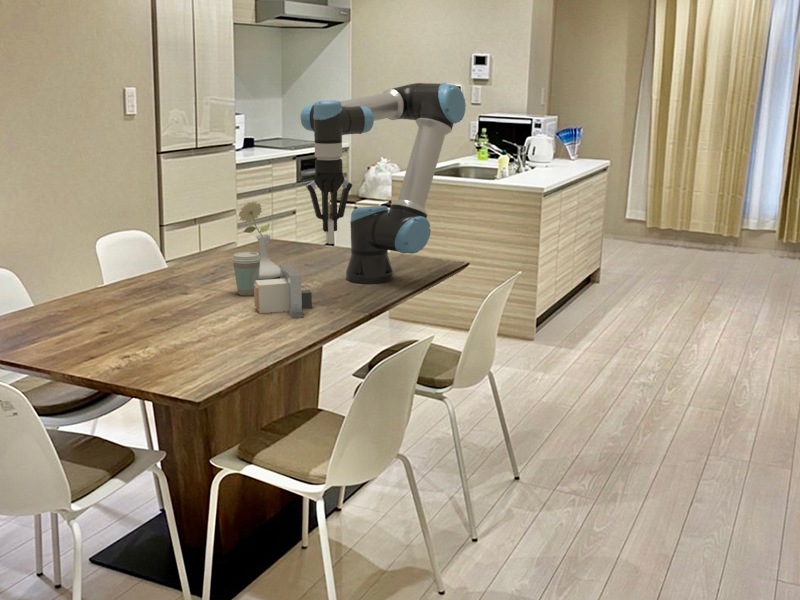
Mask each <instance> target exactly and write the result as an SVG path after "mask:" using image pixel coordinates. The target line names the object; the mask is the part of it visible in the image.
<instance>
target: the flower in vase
mask: <svg viewBox="0 0 800 600" xmlns="http://www.w3.org/2000/svg"><path fill="white" fill-rule="evenodd" d="M261 213H262V205H261V203H260V202H259V203H258V202H257V201H255V200H253V201H251V202H250V201H247V203H245V204H244V206H243V207H241V208H240V211H239V212H238V217H239V220H241V221H242V222H246V223H247V222H252V221H253V223H254V226H253V225H252V226H250V225H249V226H247V227H246V228H245V229H244V230H243V233H248V234H251V233H253V232H254V231H255V230H257V232H258V233H259V234H256V235H255V236H254V237H255V238H256V240H257V242H258V243H259V250H260V253H259V256H260V257H261V261H260V269H259V280H268V279H278V277H280V266H278V265H277V264H276V263H274V262H273V261H272V260H271V259H270V258H269V255H268V247H269V246H268V245H269V242H270V241H269V240H270V239H271V237H272V235H271V234H267V233H266V234H264V233H263V232H267V231H268V230H269V229H270V226H271V224H270V223H267V225H264V226H261V227H260V228H258V226H257V223H256V219H257V218H258V217H259V216H260V215H261ZM259 229H260V230H259Z"/></svg>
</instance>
